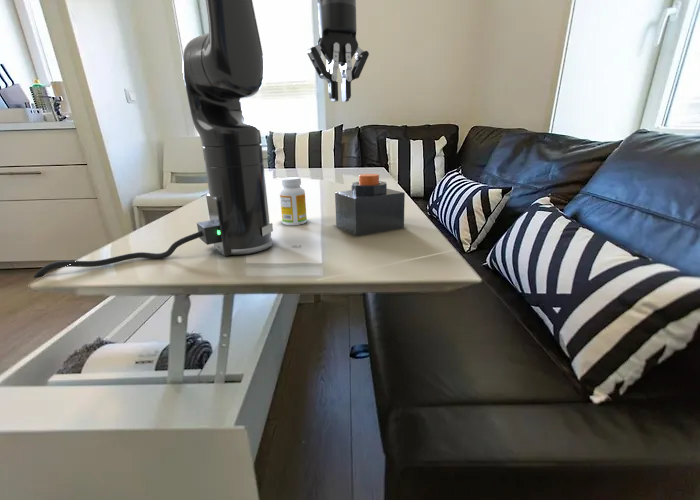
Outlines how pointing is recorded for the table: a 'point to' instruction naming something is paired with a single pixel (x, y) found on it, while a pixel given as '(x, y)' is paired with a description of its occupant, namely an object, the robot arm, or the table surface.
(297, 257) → the table surface
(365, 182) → the orange push button
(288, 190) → the supplement bottle
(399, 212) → the push button base
